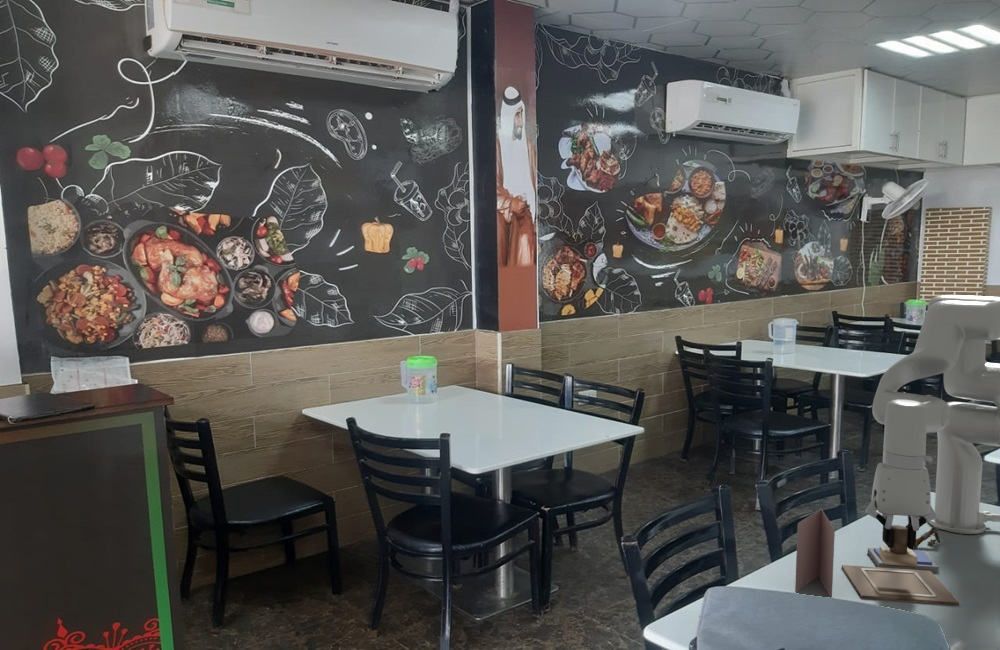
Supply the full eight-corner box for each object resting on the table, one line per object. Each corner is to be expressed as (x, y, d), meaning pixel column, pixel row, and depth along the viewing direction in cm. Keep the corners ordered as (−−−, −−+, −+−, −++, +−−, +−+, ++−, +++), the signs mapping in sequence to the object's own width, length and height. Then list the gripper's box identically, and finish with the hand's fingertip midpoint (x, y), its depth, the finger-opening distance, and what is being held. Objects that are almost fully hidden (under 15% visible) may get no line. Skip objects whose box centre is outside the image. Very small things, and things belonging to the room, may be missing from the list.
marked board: (930, 573, 155) (930, 570, 155) (959, 605, 141) (959, 601, 141) (841, 567, 158) (841, 564, 158) (861, 598, 144) (861, 594, 144)
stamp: (910, 560, 150) (912, 525, 149) (916, 568, 146) (918, 533, 145) (879, 557, 151) (881, 523, 151) (884, 565, 147) (886, 530, 147)
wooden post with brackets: (946, 541, 169) (940, 525, 168) (920, 558, 168) (914, 542, 167) (939, 538, 171) (934, 522, 170) (914, 555, 169) (908, 539, 169)
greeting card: (814, 574, 155) (817, 507, 154) (850, 585, 150) (853, 516, 148) (791, 591, 147) (793, 522, 146) (827, 604, 142) (830, 532, 140)
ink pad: (923, 556, 163) (924, 549, 163) (938, 572, 155) (938, 564, 155) (867, 552, 165) (867, 545, 165) (879, 568, 158) (879, 560, 157)
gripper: (939, 457, 149) (934, 542, 150) (855, 453, 152) (850, 536, 154) (955, 467, 141) (949, 556, 143) (866, 463, 144) (861, 550, 146)
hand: (898, 545), depth 148 cm, fingers closed on stamp, 3 cm apart
